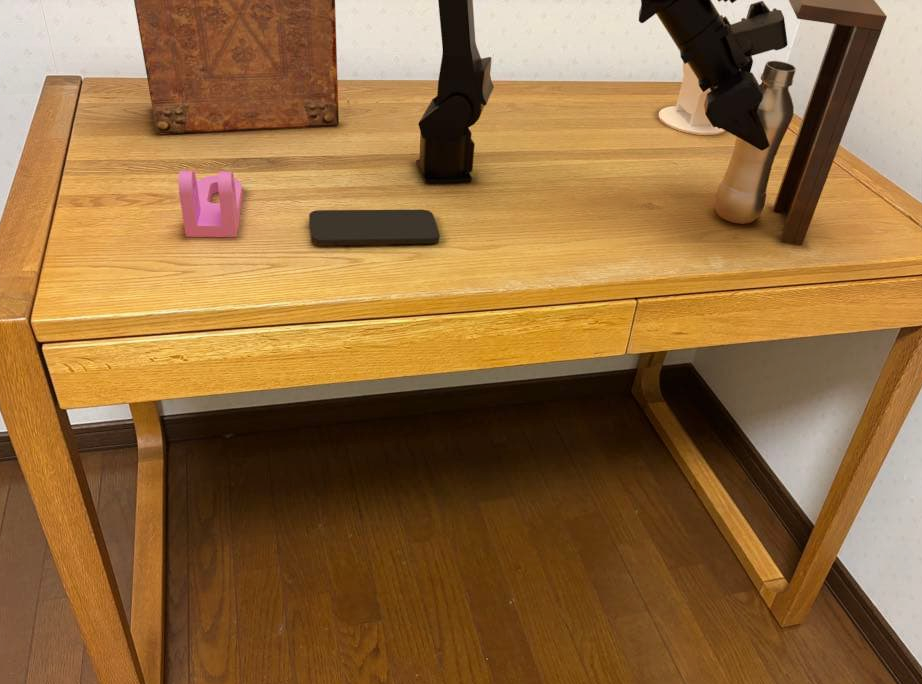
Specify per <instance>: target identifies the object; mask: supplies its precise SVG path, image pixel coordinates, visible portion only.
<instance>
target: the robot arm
mask: <svg viewBox="0 0 922 684" xmlns="http://www.w3.org/2000/svg"><path fill="white" fill-rule="evenodd" d="M728 1H729V2H730V3H731V4H734V3H735V2H736V1H737V0H723V3H726V2H728ZM437 2H438V12H439V14H438V15H439V24H440V25H439V26H440V36H441V47H442V54H441V61H440V69H439V74H438V81H437V93H436V96H434V97H433V98H431V101H430V102H429V105H428V106H427V107H426V109H425V111H424V113H423V114H422V116H421V117H420V120H419V121H418V128H419V132H420V133H419V134H420V135H419V157H418V158H419V159H416V160H415V164H416V167H417V170H418V171H419V173H420V175H421V178H422V180H423V182H424V183H425V184H447V183H449V184H450V183H470V182H472V180H473V176H472V175H471V173H472V172H473V167H474V158H475V157H474V155H475V142H474V140H473V139H472V131H471V129H470V127H472V126H475V124H476V123H477V122H478V121H479V119H480V117H481V115H482V114H483V113H482V112H483V111H484V109H485V106H487V104H488V102H489V99H490V98H491V95H492V94H493V93H492V92H493V90H494V88H495V86H494V83H493V81H492V77H491V70H492V57H491V56H487V57H481V54H480V51H479V49H478V46H477V43H476V29H475V13H474V0H437ZM717 2H719V3H720V2H722V0H717ZM746 14H747V15H746V17H742V18H741V19H740V21H737V22H735V23H730V21H729V19H728V18H727V16H726V15H724V16H723V15H722V14H720V13H719V11H718V10H717V8H716V6H715V5H714V3H713V2H712V0H640V9H639V11H638V22H639V23H640V24H644V23H646V22H647V21H649V19H652V17H653V16H655V15H656V16H657V18H658V19H659V21H660V22H661V24H662V26H663V27H664V28H665V30H666V32H667V33H668V35H669V36H670V38H671V39H672V41H673V43H674V44H675V46H676V47H677V49H678V50H679V55H680V59H681V60H682V63H683V62H684V63H685V64H686V63H688V64H689V66H690V67H691V69H692V71H693V72H694V74H695V75H696V77H697V78H698V82H699V86H700V88H701V90H702V91H703V92H704V91H706V90H707V89H709V88H710V90H711V91H710V92H709V93H707V95H706V99H705V103H704V108H705V115H706V116H707V118H708V120H709V121H710V123H711V124H712V126H713V127H717V128H719V129H720V128H721V129H723V130H725V131H724V132H728V133H729V134H731V135H733V136H735V137H738V138H740V139H742V140H744V141H746V142H747V143H749V144H751V145H752V146H754V147H756V148H758V149H759V150H761V151H763V150H765V149H766V148H768V147H769V142H768V139H767V136H766V133H765V130H764V128H763V125H762V122H761V119H760V117H759V114H758V107H759V105H760V103H761V101H762V99H763V94H762V90H761V88H760V86H759V85H760V84H759V81H758V80H757V78H756V76H755V75H754V73H753V72H752V68H753V63H754V59H753V56H756V55H760V54H764V53H766V52H770V51H773V50H774V51H780V50H783V49H785V48H786V47H788V45H789V44H788V37H787V36H788V35H787V30H786V22H785V16H784V14H783V12H782V10H781V9H777V8H776V7H774V8H772V10H770V8H769V7H768V6H767V5H766V3H765V2H764V1H763V0H760V1H757V2H754V3H751V4H750V5H749V7H748V11H747V13H746Z"/></svg>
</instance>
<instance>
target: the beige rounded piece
mask: <svg viewBox="0 0 922 684" xmlns="http://www.w3.org/2000/svg"><path fill="white" fill-rule="evenodd" d="M682 72H683V73H682V74H683V77H682V81H681V85H680V91H679V94H678V98H677V101H676V105H670V106H666V107H664V108H661V110H659V112H658V119H659V120H660V122H661V123H662V124H664V125H665V126H667V127H669V128H671V129H673V130H676V131H679V132H682V133H686V134H692V135H700V136H715V135H719V134H722V133H724V132H726V131H725V130H723V129H721V128H720V129H719V128H717V127H713V126H712V124H711V123H710V121H709V120H708V118H707V116H706V115H705V108H704V103H705V99H706V95H707V93H709V92H710V91H711V90H710V88H709V89H707V90H706V91H704V92H703V91H702V90H701V88H700V86H699V82H698V78H697V77H696V75H695V74H694V72H693V71H692V69H691V67H690V66H689V64H688V63H686V64H685V63H684V62H683V61H682Z"/></svg>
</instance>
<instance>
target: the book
mask: <svg viewBox="0 0 922 684" xmlns="http://www.w3.org/2000/svg"><path fill="white" fill-rule="evenodd" d="M133 3H134V8H135V15H136V19H137V21H136V22H137V25H138V33H139V37H140V43H141V48H142V49H141V50H142V54H143V55H142V56H143V62H144V66H145V72H146V73H145V74H146V79H147V85H148V91H149V96H150V103H151V109H152V113H153V114H152V115H153V119H154V125H155V126H154V127H155V131H156V134H157V135H175V134H176V135H177V134H195V133H197V134H198V133H218V132H219V133H221V132H240V131H241V132H242V131H243V132H244V131H261V130H262V131H264V130H284V129H285V130H286V129H289V130H290V129H307V128H310V129H311V128H328V127H329V128H330V127H338V126H339V124H340V119H339V118H340V115H339V113H340V112H339V88H338V87H339V84H338V82H339V81H338V50H337V49H338V48H337V47H338V46H337V20H336V19H337V18H336V16H337V15H336V0H133Z"/></svg>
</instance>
